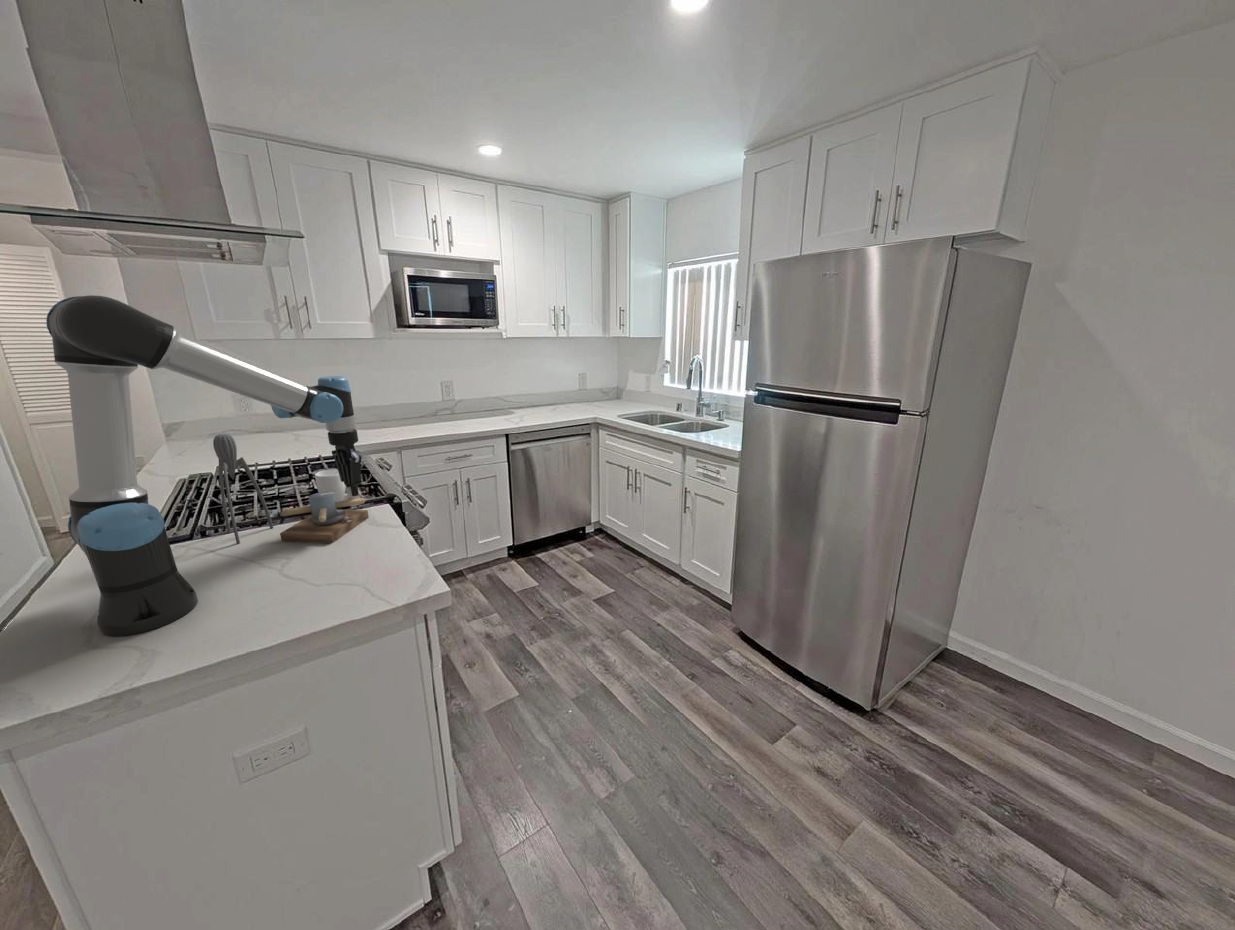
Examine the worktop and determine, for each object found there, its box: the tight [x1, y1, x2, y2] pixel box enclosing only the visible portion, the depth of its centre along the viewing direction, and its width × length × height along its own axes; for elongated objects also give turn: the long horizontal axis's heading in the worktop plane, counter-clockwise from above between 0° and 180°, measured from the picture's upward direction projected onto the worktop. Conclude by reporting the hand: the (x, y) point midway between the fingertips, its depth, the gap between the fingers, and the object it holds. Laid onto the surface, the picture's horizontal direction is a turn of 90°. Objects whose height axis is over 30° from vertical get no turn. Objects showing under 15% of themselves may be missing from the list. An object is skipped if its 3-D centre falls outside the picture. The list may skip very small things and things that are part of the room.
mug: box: [314, 468, 348, 502], centre depth 161 cm, size 12×8×11 cm
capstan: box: [281, 492, 366, 525], centre depth 140 cm, size 21×21×8 cm
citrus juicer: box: [212, 433, 274, 545], centre depth 135 cm, size 11×10×30 cm
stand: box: [279, 508, 369, 544], centre depth 142 cm, size 18×15×4 cm
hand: (355, 504), depth 147 cm, fingers closed
